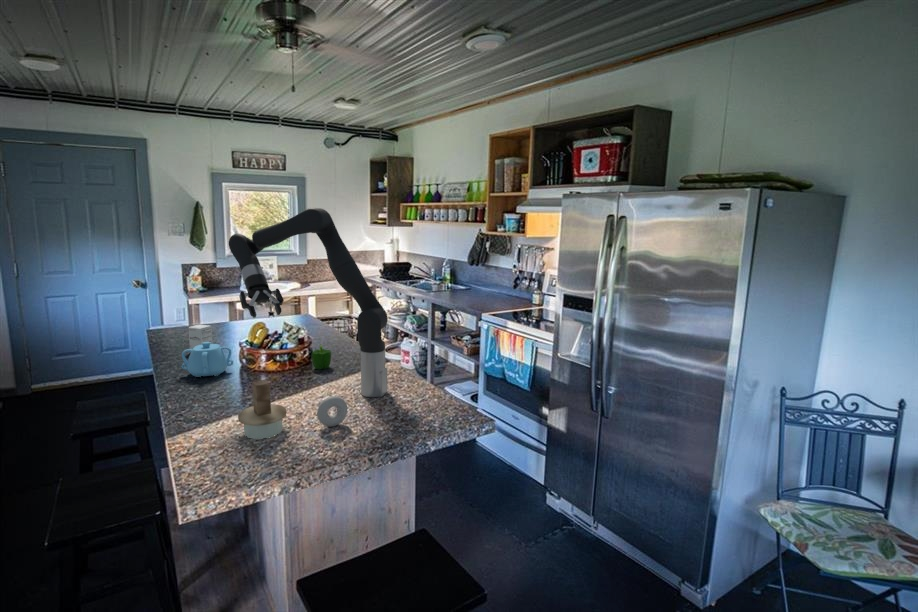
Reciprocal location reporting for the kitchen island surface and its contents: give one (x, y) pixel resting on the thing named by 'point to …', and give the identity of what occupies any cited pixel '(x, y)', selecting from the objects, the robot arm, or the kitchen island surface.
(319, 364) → the bell pepper
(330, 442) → the kitchen island surface
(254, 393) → the lid
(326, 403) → the donut
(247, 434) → the bowl
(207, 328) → the supplement box
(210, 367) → the decorative pot
